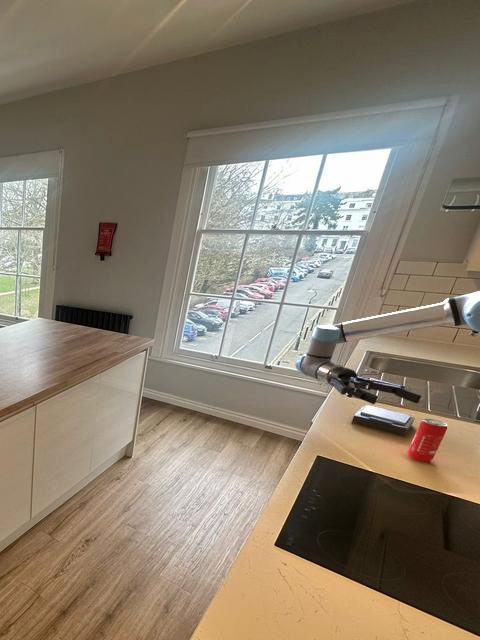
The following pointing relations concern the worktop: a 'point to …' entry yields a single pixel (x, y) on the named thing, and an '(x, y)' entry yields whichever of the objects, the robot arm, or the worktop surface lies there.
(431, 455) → the beverage can
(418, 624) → the worktop surface
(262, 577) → the worktop surface
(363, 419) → the scale
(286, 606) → the worktop surface
